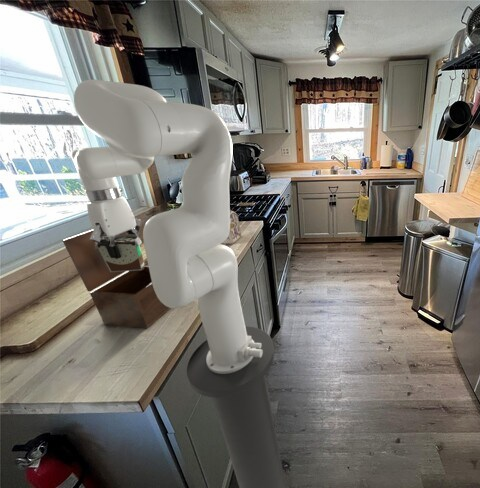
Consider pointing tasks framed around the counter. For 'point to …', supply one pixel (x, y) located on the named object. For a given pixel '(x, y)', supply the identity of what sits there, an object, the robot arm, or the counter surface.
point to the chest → (129, 300)
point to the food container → (124, 254)
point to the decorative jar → (233, 229)
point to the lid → (89, 260)
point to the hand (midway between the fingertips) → (126, 252)
